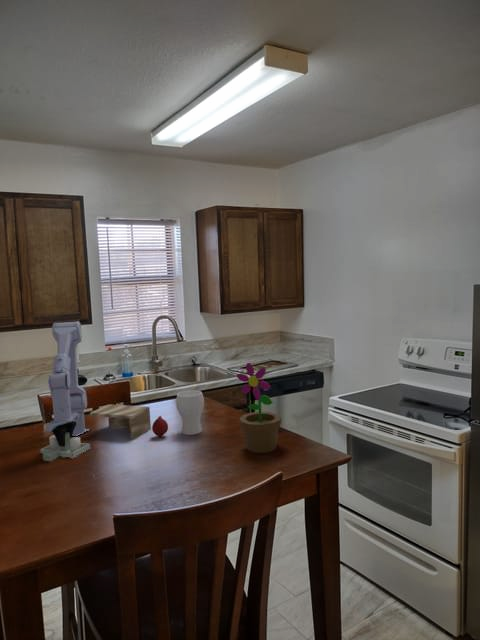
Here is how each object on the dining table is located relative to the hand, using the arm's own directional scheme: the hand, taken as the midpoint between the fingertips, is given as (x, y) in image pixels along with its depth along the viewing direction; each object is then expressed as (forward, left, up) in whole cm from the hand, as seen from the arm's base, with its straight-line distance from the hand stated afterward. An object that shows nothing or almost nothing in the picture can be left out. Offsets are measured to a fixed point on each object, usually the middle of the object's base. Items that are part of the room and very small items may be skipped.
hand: (65, 444), depth 160 cm
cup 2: (+35, +29, -3) cm, 46 cm away
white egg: (+4, 0, -2) cm, 5 cm away
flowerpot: (+66, +20, -3) cm, 69 cm away
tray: (0, -2, -3) cm, 3 cm away
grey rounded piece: (-4, 0, -2) cm, 5 cm away
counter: (+8, +22, -3) cm, 24 cm away
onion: (+26, +21, -3) cm, 34 cm away
